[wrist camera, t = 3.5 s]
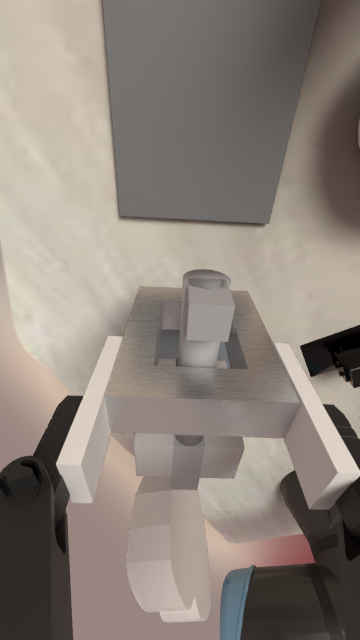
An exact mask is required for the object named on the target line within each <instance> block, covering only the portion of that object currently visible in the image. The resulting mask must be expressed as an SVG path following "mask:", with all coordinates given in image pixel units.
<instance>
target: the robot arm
mask: <svg viewBox="0 0 360 640" xmlns="http://www.w3.org/2000/svg"><path fill="white" fill-rule="evenodd" d="M122 339H123V336H108V338H107V340H106V342H105V345H104V347H103V350H102V352H101V355H100V357H99V360H98V362H97V364H96V367H95V369H94V372H93V374H92V377H91V379H90V382H89V384H88V387H87V389H86V391H85V394H84V396H67V397H66V398H65V399H64V400H63V401H62V402H61V403H60V404H59V405H58V406H57V408H56V410H55V412H54V414H53V416H52V419H51V420H50V422H49V424H48V428H47V429H46V431H45V433H44V434H43V436H42V438H41V440H40V442H39V444H38V447H37V448H36V451H35V452H34V454H33V456H25V457H21V458H18V459H16V460H15V461H12V462H11V463H10V464H9V465H7V466H6V467H5V468H4V469H3V470H2V471H1V473H0V640H73V628H72V608H71V587H70V566H69V546H68V525H67V513H66V506H67V503H68V500H69V497H70V498H71V501H72V503H93V502H94V498H95V494H96V490H97V486H98V482H99V478H100V474H101V471H102V467H103V463H104V459H105V455H106V451H107V447H108V443H109V439H110V435H111V431H110V426H109V420H108V414H107V409H106V403H105V397H104V395H105V391H106V388H107V385H108V382H109V379H110V376H111V373H112V370H113V367H114V364H115V360H116V357H117V354H118V351H119V348H120V345H121V342H122ZM273 345H274V347H275V349H276V351H277V353H278V355H279V357H280V359H281V361H282V363H283V365H284V367H285V369H286V371H287V373H288V375H289V378H290V380H291V382H292V384H293V386H294V388H295V390H296V392H297V394H298V396H299V398H300V400H301V402H302V404H301V406H300V408H299V410H298V412H297V414H296V416H295V418H294V420H293V422H292V424H291V426H290V428H289V430H288V432H287V434H286V437H285V438H284V441H285V443H286V446H287V449H288V452H289V454H290V457H291V460H292V463H293V466H294V468H295V472H293V473H291V474H290V475H288V476H287V477H286V478H285V479H284V480H283V482H282V484H281V490H282V494H283V497H284V500H285V503H286V505H287V507H288V508H289V510H290V512H291V513H292V515H293V517H294V518H295V520H296V522H297V523H298V525H299V527H300V528H301V530H302V532H303V533H304V535H305V536H306V538H307V540H308V542H309V545H310V548H311V551H312V554H313V557H314V560H315V563H310V564H295V565H282V566H268V567H256V566H255V565H252V566H251V567H249V568H243V569H236V570H232V571H230V572H229V573H228V574H227V576H226V577H225V580H224V583H223V588H222V594H221V607H220V640H360V439H358V438H357V435H356V433H355V431H354V430H353V429H352V428H351V425H350V423H349V422H348V420H347V419H346V417H345V415H344V414H343V413H342V412H341V411H339V410H338V409H337V408H336V407H335V406H334V405H327V404H322V403H321V401H320V399H319V398H318V396H317V394H316V392H315V390H314V389H313V387H312V385H311V383H310V382H309V380H308V378H307V376H306V375H305V373H304V371H303V369H302V367H301V366H300V364H299V362H298V360H297V359H296V357H295V355H294V353H293V352H292V350H291V348H290V346H289V345H288V343H274V344H273Z"/></svg>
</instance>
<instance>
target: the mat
mask: <svg viewBox="0 0 360 640" xmlns="http://www.w3.org/2000/svg"><path fill="white" fill-rule="evenodd" d="M102 1H103V13H104V26H105V38H106V51H107V63H108V76H109V88H110V101H111V114H112V126H113V139H114V151H115V164H116V176H117V189H118V201H119V214H120V216H132V217H151V218H170V219H189V220H208V221H227V222H246V223H266V224H269V221H270V217H271V213H272V208H273V204H274V200H275V196H276V191H277V187H278V183H279V179H280V174H281V170H282V166H283V161H284V157H285V153H286V149H287V144H288V140H289V136H290V132H291V127H292V123H293V119H294V115H295V110H296V106H297V102H298V97H299V93H300V89H301V85H302V80H303V76H304V72H305V68H306V63H307V59H308V55H309V50H310V46H311V42H312V38H313V33H314V29H315V25H316V21H317V16H318V12H319V8H320V4H321V0H102Z"/></svg>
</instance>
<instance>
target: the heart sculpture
mask: <svg viewBox="0 0 360 640" xmlns="http://www.w3.org/2000/svg"><path fill="white" fill-rule="evenodd" d="M126 566H127V572H128V579H129V584H130V586H131V589H132V591H133V593H134V596H135V598H136V600H137V602H138V603H139V605H140V606H141V608H142V609H143V610H145V611H146V612H160V615H161V618H162V620H163V621H164V622H189V621H190V622H191V621H204V620H206V619H207V617H208V615H209V613H210V605H211V593H210V573H209V562H208V551H207V542H206V535H205V527H204V520H203V514H202V509H201V504H200V499H199V493H198V489H197V490H171V477H164V476H144V477H143V479H142V482H141V484H140V486H139V489H138V491H137V493H136V497H135V501H134V507H133V512H132V517H131V522H130V527H129V536H128V548H127V559H126Z"/></svg>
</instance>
